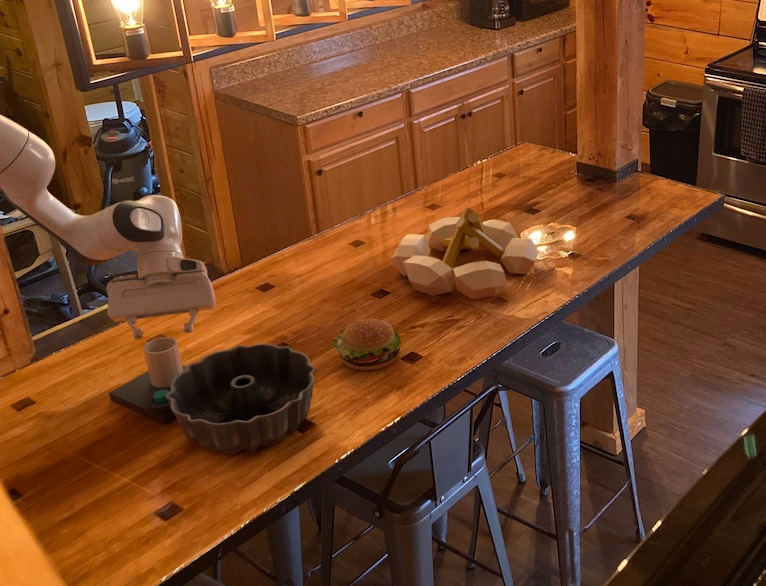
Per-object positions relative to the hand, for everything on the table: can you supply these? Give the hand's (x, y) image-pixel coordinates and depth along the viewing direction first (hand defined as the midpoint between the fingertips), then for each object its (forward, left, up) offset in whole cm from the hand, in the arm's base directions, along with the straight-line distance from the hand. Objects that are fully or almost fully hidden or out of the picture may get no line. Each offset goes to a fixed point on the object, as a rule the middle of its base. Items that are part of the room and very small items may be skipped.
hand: (163, 335), depth 193 cm
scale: (+5, -5, -9) cm, 12 cm away
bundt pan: (+27, -4, -10) cm, 29 cm away
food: (+31, +25, -10) cm, 41 cm away
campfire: (+25, +69, -10) cm, 74 cm away
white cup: (+3, -3, -8) cm, 9 cm away
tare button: (+10, -10, -6) cm, 15 cm away
